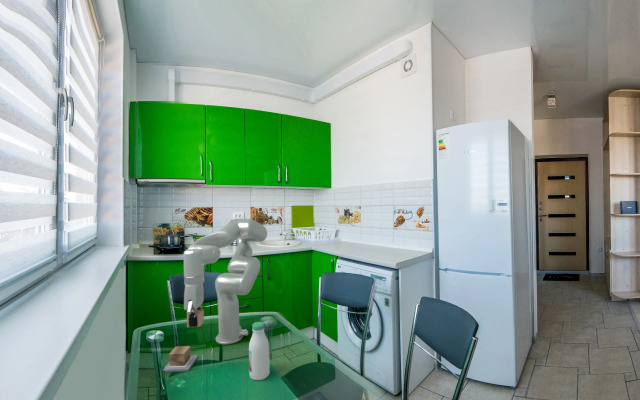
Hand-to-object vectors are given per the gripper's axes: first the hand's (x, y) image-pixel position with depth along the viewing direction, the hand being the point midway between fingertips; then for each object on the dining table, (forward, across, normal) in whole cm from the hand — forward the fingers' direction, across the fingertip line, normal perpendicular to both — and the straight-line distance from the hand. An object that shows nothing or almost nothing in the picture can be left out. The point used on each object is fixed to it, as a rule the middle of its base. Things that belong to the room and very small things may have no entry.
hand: (195, 322), depth 124 cm
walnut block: (+17, -1, -7) cm, 18 cm away
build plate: (+18, -1, -7) cm, 19 cm away
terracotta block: (+1, 0, 0) cm, 1 cm away
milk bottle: (+18, +9, +27) cm, 33 cm away
